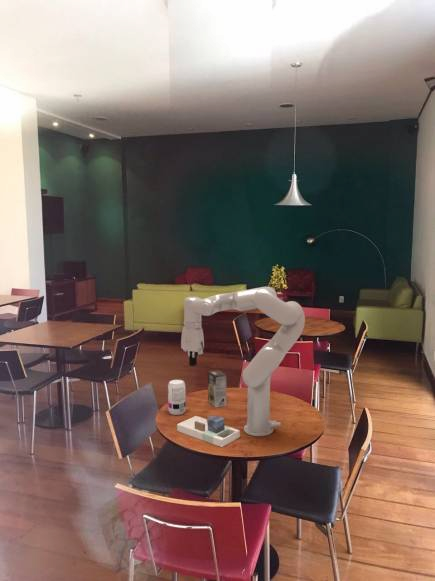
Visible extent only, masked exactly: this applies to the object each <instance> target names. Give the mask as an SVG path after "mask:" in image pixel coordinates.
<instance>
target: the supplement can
mask: <svg viewBox="0 0 435 581" xmlns="http://www.w3.org/2000/svg"><path fill="white" fill-rule="evenodd" d="M186 394H187V393H186V383H185V381H184V380H182V379H172V380H169V382H168V384H167V397H168V398H167V400H168V401H167V402H168V403H167V404H168V405H167V406H168V407H167V408H168V413H169V414H170V415H172V416H173V415H175V416H179V415H183V414H185V412H186V411H187V404H186V401H187V400H186V399H187V398H186Z"/></svg>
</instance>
